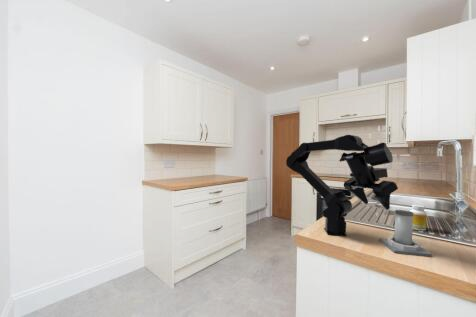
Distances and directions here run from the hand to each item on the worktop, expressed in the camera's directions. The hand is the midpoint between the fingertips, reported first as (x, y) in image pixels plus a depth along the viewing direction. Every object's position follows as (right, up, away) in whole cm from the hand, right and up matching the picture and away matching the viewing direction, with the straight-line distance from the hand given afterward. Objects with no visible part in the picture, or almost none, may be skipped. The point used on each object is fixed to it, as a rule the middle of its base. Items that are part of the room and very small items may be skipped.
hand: (376, 206), depth 76 cm
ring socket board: (+4, -12, -7) cm, 15 cm away
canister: (+4, -11, -7) cm, 14 cm away
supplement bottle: (+25, -12, +11) cm, 30 cm away
